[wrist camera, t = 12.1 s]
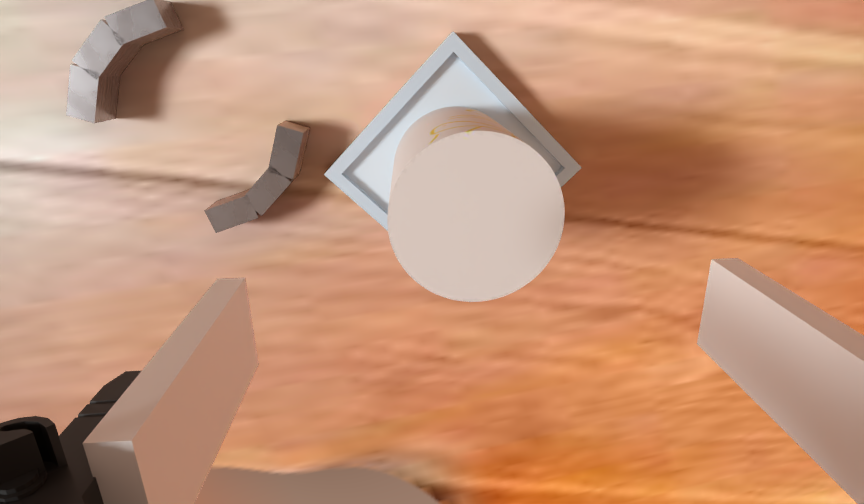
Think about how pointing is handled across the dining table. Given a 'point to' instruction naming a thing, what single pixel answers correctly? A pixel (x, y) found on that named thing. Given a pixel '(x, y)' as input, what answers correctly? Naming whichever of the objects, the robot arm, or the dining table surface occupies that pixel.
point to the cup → (471, 206)
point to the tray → (427, 91)
